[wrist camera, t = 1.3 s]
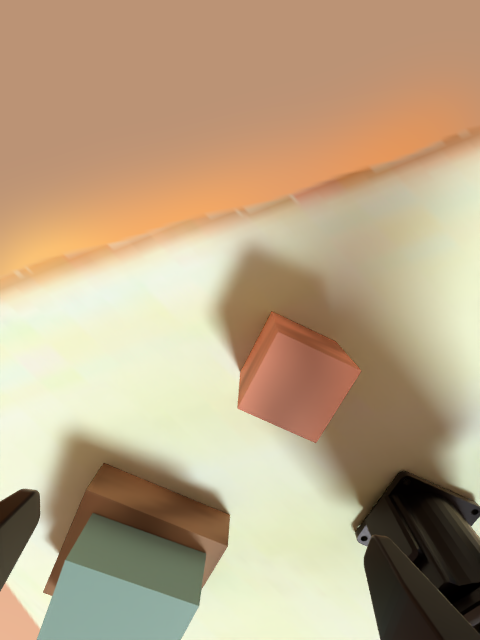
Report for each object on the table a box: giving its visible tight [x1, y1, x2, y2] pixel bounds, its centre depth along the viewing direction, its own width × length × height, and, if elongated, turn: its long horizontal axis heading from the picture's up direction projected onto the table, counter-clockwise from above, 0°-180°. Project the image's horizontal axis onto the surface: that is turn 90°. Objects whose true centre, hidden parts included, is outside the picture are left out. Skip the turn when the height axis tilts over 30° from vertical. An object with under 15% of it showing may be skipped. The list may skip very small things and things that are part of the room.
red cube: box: [238, 312, 361, 443], centre depth 17 cm, size 4×4×4 cm
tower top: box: [37, 513, 206, 640], centre depth 19 cm, size 8×8×3 cm
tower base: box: [43, 463, 230, 596], centre depth 22 cm, size 10×10×3 cm
